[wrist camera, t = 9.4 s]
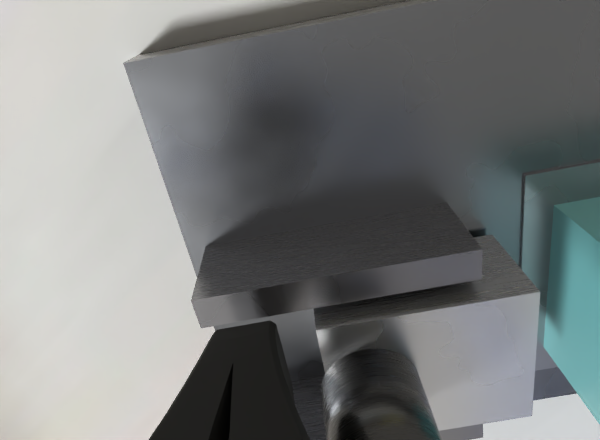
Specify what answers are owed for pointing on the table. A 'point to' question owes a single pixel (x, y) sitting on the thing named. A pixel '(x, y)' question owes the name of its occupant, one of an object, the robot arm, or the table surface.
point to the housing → (576, 298)
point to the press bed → (374, 160)
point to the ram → (431, 356)
